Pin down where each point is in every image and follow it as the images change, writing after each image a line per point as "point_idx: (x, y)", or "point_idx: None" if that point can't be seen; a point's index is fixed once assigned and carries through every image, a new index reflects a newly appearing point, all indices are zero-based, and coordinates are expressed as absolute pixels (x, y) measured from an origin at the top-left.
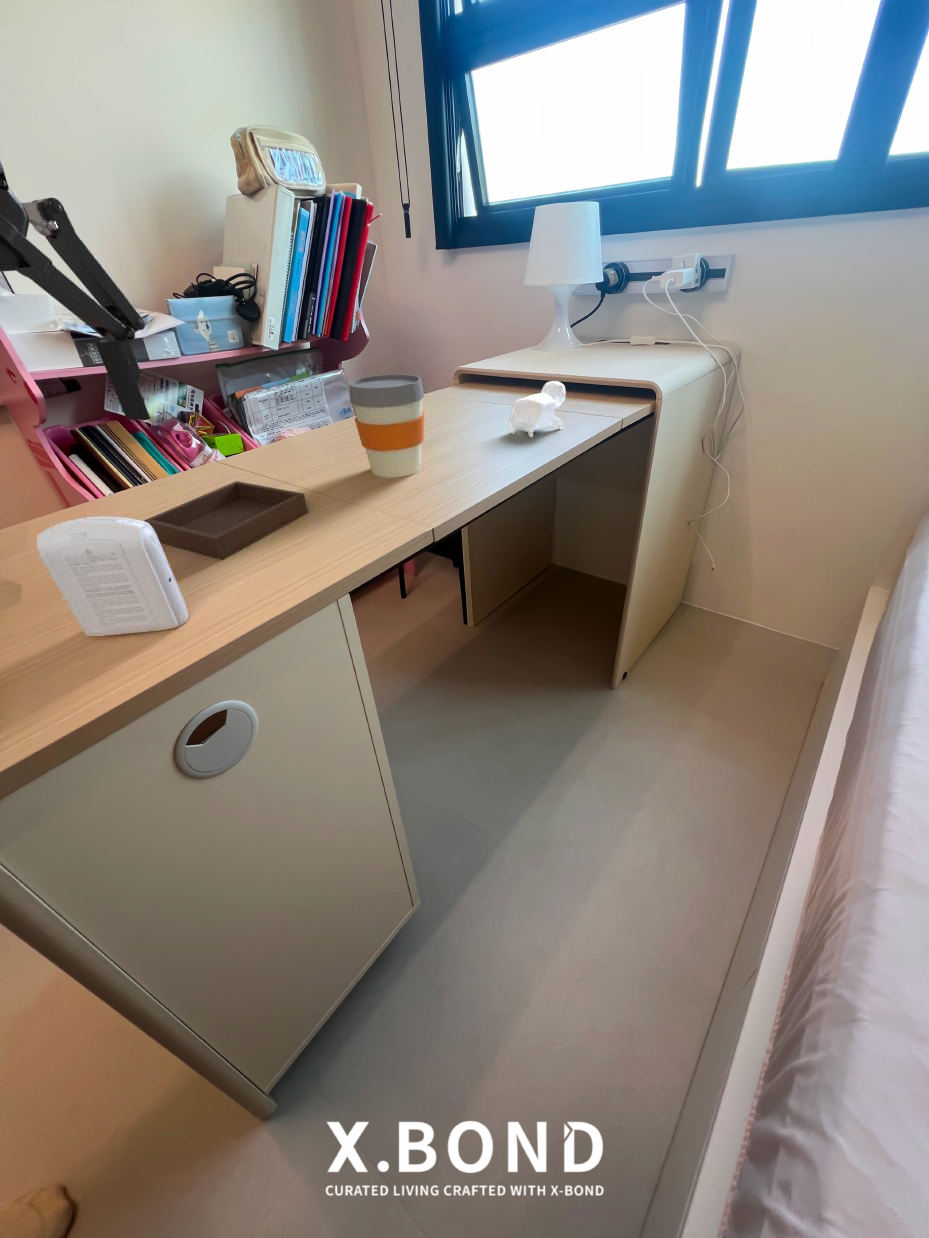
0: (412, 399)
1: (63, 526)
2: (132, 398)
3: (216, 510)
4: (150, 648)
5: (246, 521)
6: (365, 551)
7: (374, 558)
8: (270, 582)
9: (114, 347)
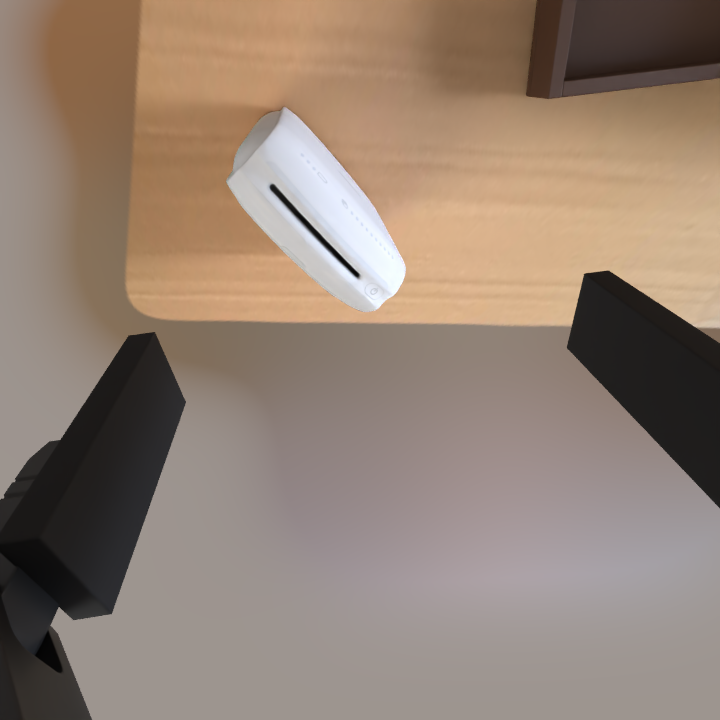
0: None
1: (283, 224)
2: (604, 373)
3: None
4: None
5: (640, 82)
6: None
7: None
8: (488, 250)
9: (715, 501)
